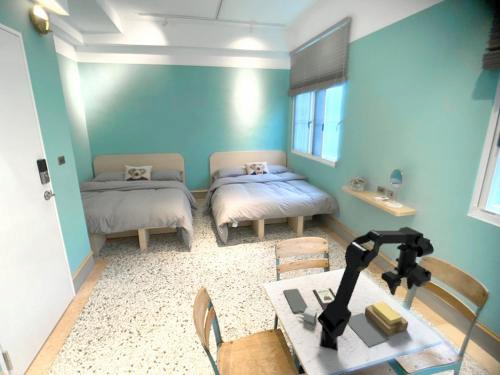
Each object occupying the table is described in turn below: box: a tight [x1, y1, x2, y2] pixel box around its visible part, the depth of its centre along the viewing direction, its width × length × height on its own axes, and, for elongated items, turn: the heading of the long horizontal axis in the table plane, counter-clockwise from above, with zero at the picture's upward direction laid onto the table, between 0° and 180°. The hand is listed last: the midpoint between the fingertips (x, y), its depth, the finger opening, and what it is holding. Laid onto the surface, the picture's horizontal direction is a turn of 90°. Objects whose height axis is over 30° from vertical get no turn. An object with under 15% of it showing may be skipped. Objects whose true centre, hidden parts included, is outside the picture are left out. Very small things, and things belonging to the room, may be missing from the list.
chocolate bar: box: [312, 287, 336, 311], centre depth 115 cm, size 9×1×18 cm
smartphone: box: [283, 288, 309, 314], centre depth 117 cm, size 8×1×15 cm
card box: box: [372, 300, 403, 325], centre depth 103 cm, size 6×9×2 cm, turn 19°
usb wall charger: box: [298, 307, 318, 325], centre depth 106 cm, size 4×7×4 cm, turn 59°
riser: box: [364, 304, 409, 338], centre depth 104 cm, size 10×12×4 cm
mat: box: [347, 312, 390, 348], centre depth 101 cm, size 10×14×1 cm
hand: (400, 291), depth 104 cm, fingers open, 9 cm apart
